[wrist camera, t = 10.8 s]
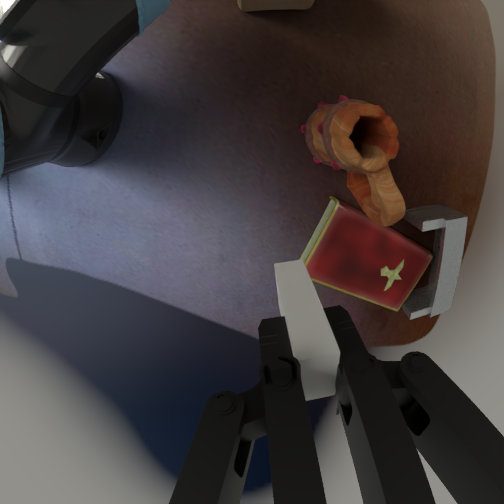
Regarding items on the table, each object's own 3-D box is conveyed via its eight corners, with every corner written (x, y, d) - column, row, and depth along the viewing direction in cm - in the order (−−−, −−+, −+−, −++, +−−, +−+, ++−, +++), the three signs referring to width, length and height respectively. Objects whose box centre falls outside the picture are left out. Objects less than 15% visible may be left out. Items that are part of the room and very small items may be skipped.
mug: (287, 113, 32) (316, 101, 19) (341, 95, 31) (396, 79, 17) (325, 208, 38) (367, 253, 24) (373, 189, 37) (432, 223, 23)
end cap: (396, 300, 46) (412, 323, 39) (402, 209, 38) (426, 224, 32) (432, 290, 45) (450, 309, 39) (442, 203, 38) (467, 216, 31)
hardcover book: (329, 193, 38) (339, 201, 34) (422, 245, 42) (435, 256, 38) (293, 262, 42) (298, 276, 38) (388, 299, 46) (398, 312, 42)
